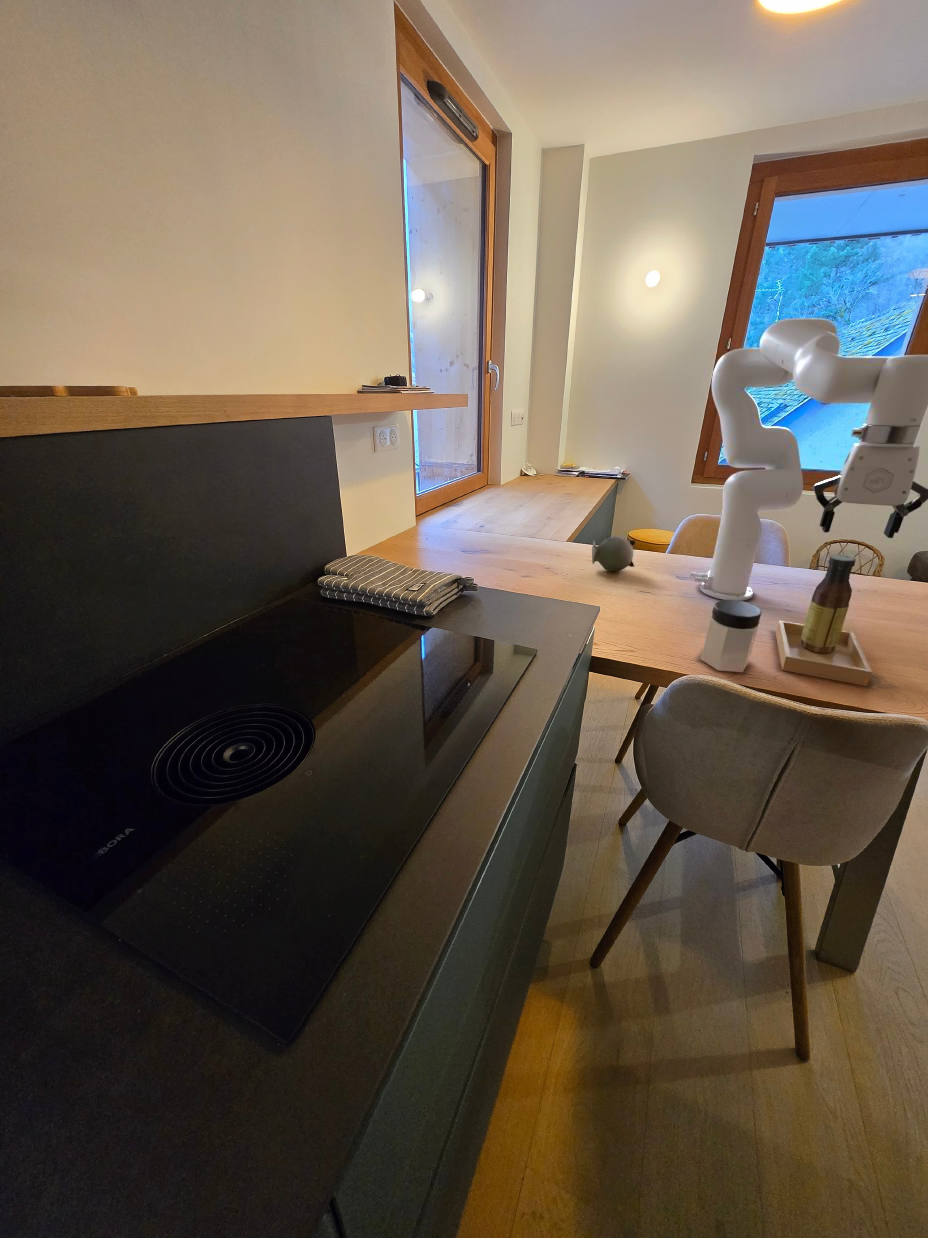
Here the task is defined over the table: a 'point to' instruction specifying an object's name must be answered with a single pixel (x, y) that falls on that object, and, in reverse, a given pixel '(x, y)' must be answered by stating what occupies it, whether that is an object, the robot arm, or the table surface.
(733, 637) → the jar
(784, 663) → the tray
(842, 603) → the sauce bottle
